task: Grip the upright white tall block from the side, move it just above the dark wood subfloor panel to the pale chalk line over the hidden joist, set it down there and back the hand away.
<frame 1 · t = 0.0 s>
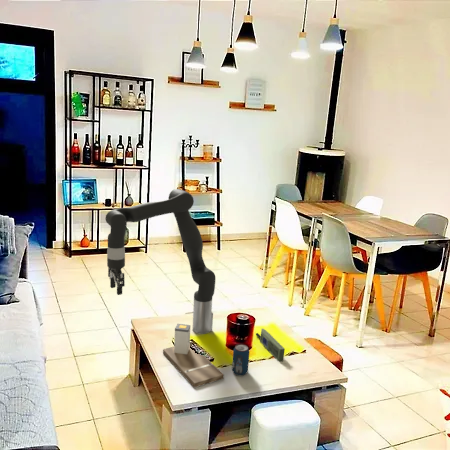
hand: (116, 290, 208), 29 cm above the table, tool pointing down, fingers open, 8 cm apart
white tall block: (181, 350, 214), point 2 cm above the table, touching subfloor panel
subfloor panel: (192, 365, 207), on the table
soda can: (239, 372, 204), on the table
handheld radio: (268, 348, 225), on the table
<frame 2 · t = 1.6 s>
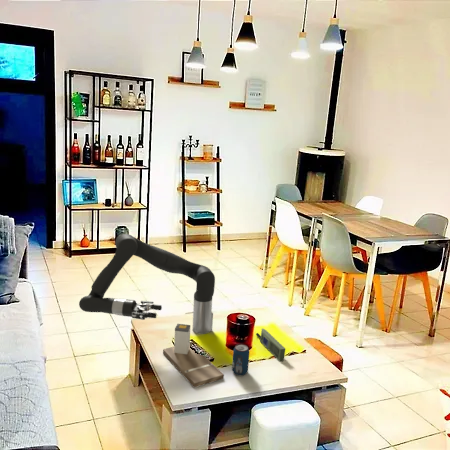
hand: (158, 311, 211), 20 cm above the table, tool horizontal, fingers open, 8 cm apart
nothing on the table moved.
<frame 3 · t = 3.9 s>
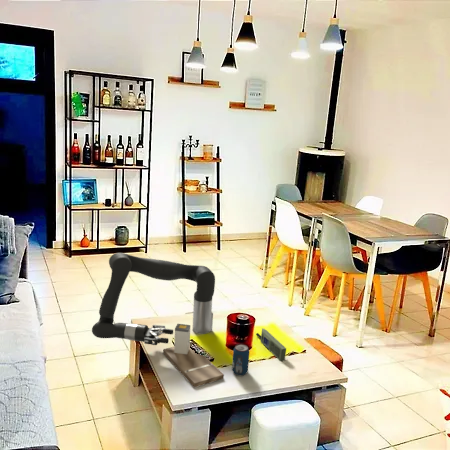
hand: (170, 336, 213), 8 cm above the table, tool horizontal, fingers open, 8 cm apart
nothing on the table moved.
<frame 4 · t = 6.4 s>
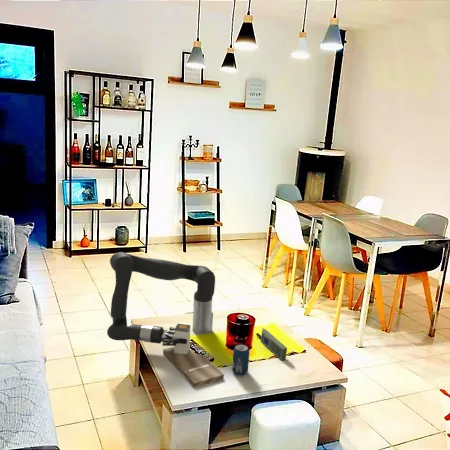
hand: (187, 338, 212), 9 cm above the table, tool horizontal, fingers closed on white tall block, 5 cm apart
white tall block: (181, 350, 214), point 2 cm above the table, touching gripper, subfloor panel
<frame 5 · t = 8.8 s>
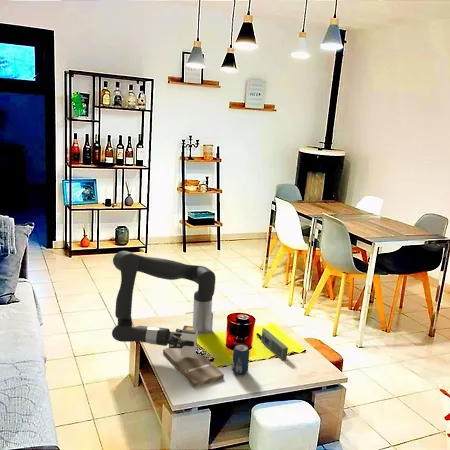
hand: (195, 340, 206), 11 cm above the table, tool horizontal, fingers closed on white tall block, 5 cm apart
white tall block: (188, 353, 208), point 4 cm above the table, touching gripper
when the fingers open (9 cm above the table, at t = 11.4 s): white tall block stays where it is, resting on subfloor panel.
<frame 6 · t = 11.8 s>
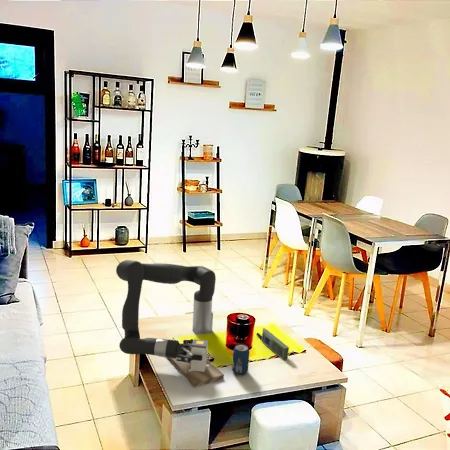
hand: (204, 352, 199), 10 cm above the table, tool horizontal, fingers open, 8 cm apart
white tall block: (198, 367, 201), point 2 cm above the table, touching subfloor panel
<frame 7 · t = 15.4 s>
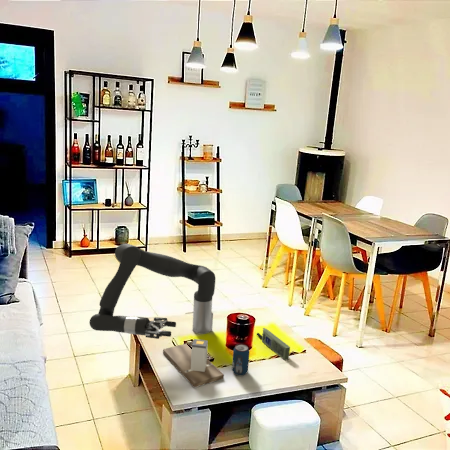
hand: (173, 329, 200), 18 cm above the table, tool horizontal, fingers open, 8 cm apart
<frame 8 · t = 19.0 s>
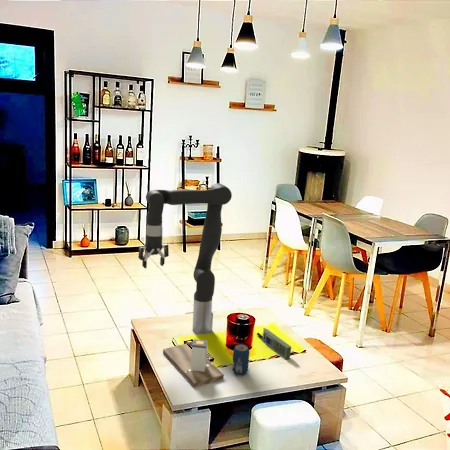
hand: (153, 266, 221), 36 cm above the table, tool pointing down, fingers open, 8 cm apart
at the end: white tall block 0.1 cm from the target spot on the subfloor panel, point 2.1 cm above the subfloor panel's base; white tall block tilted 0°; the gripper is holding nothing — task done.
